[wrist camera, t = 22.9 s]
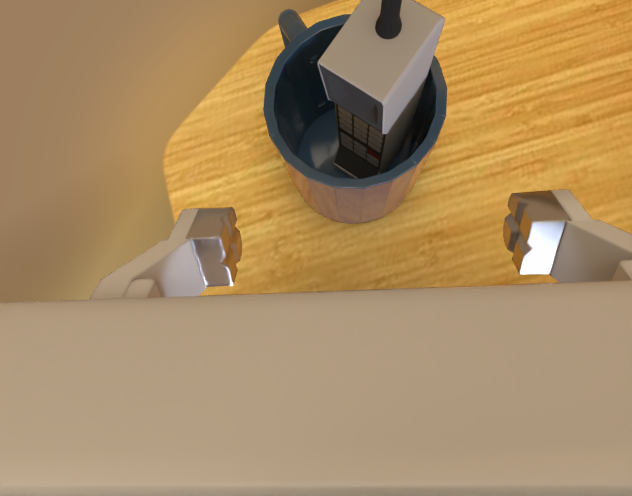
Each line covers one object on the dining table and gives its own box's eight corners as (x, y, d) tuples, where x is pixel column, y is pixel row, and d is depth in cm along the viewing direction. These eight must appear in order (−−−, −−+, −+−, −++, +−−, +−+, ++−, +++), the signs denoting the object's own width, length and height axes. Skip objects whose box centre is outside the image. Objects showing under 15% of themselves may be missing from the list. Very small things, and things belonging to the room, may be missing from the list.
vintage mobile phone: (333, 167, 37) (289, -98, 12) (367, 118, 37) (392, -240, 13) (371, 192, 37) (405, -32, 12) (405, 142, 37) (511, -181, 12)
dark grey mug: (442, 179, 37) (484, 122, 25) (334, 248, 37) (325, 223, 25) (352, 50, 39) (350, -60, 27) (249, 115, 39) (204, 35, 27)
